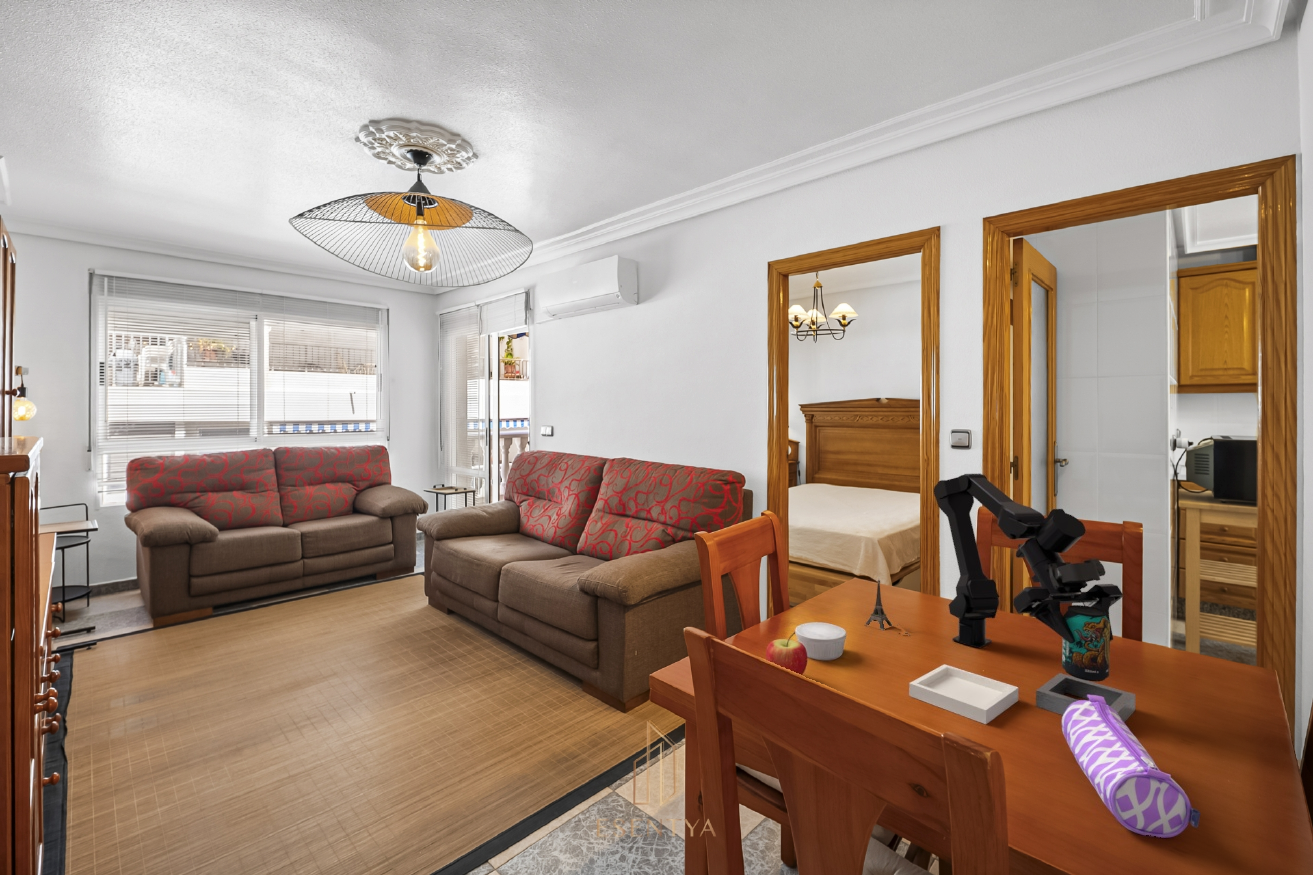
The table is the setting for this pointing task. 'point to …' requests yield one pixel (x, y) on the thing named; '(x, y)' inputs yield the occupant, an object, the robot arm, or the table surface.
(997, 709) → the tray
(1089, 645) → the beverage can
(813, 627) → the ramekin
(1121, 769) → the pencil case
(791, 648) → the apple
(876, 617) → the eiffel tower figurine
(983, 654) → the table surface
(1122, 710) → the collar
